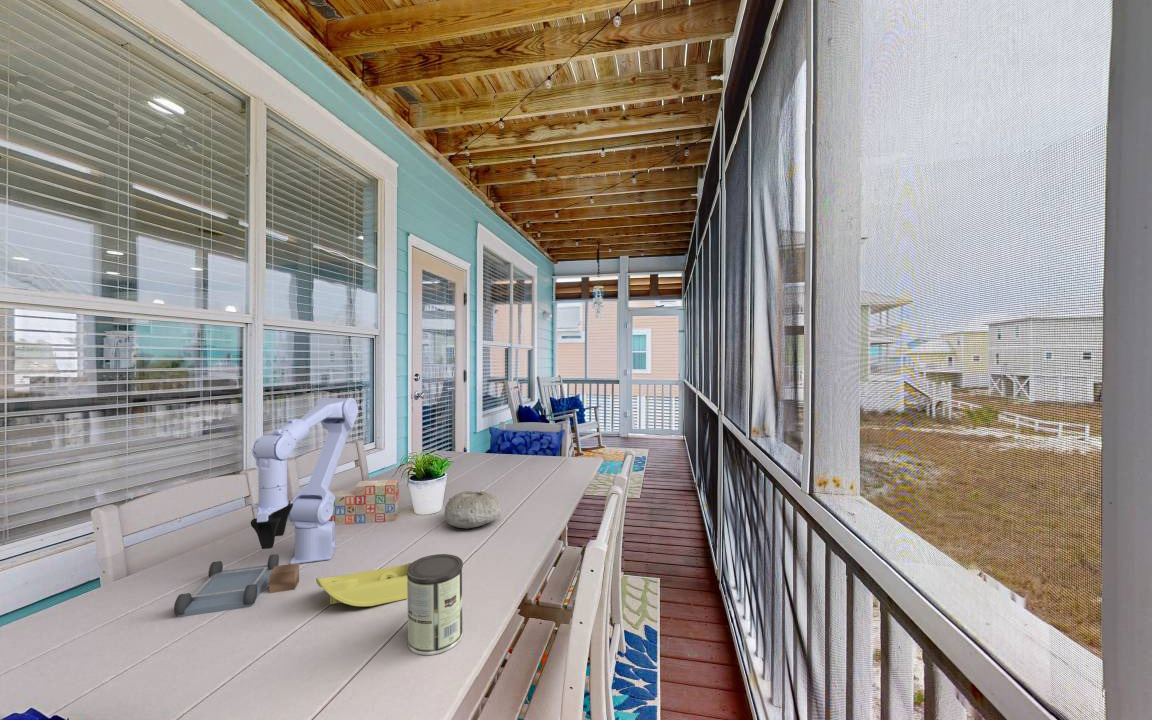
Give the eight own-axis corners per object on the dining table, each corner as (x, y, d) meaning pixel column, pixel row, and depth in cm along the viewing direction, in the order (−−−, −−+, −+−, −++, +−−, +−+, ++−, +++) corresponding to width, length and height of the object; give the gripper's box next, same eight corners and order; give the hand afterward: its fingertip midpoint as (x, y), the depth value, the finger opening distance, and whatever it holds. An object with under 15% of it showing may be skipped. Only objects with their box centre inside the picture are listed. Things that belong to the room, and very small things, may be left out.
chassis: (278, 567, 115) (278, 551, 115) (250, 608, 97) (250, 589, 97) (215, 575, 111) (215, 559, 111) (174, 619, 92) (173, 600, 92)
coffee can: (425, 619, 93) (425, 551, 93) (472, 626, 90) (471, 556, 90) (395, 651, 83) (394, 575, 83) (446, 660, 80) (445, 581, 80)
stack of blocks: (324, 526, 143) (323, 487, 143) (330, 519, 149) (330, 482, 149) (395, 521, 147) (395, 484, 147) (399, 514, 153) (398, 478, 153)
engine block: (299, 581, 108) (299, 563, 108) (294, 589, 104) (294, 570, 104) (275, 585, 107) (274, 566, 106) (269, 593, 103) (269, 574, 103)
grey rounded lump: (475, 510, 157) (475, 482, 157) (513, 521, 147) (513, 491, 147) (432, 526, 143) (432, 495, 143) (470, 540, 132) (470, 506, 132)
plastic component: (405, 564, 112) (415, 561, 104) (406, 597, 109) (416, 596, 101) (314, 580, 101) (317, 577, 94) (312, 617, 98) (315, 617, 91)
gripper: (264, 478, 114) (264, 532, 114) (240, 495, 100) (241, 556, 100) (296, 476, 116) (296, 529, 116) (277, 492, 102) (277, 552, 102)
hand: (273, 541), depth 108 cm, fingers open, 7 cm apart
